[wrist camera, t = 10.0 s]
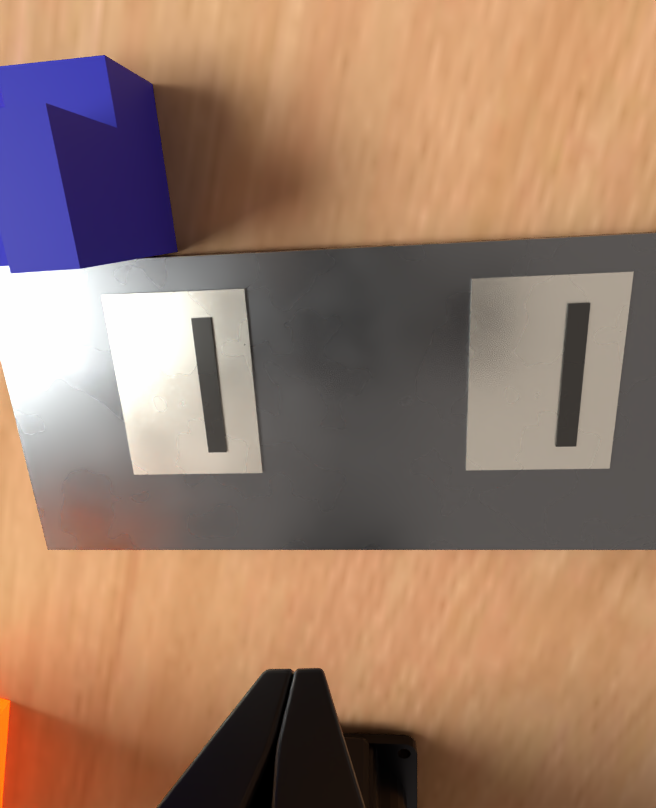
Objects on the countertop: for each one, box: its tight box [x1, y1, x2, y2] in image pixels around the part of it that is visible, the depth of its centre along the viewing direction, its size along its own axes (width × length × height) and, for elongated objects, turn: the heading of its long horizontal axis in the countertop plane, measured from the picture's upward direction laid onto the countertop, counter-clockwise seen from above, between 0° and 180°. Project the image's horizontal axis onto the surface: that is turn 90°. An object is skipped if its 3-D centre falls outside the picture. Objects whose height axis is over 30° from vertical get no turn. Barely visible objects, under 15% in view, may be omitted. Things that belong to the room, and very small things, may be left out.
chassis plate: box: [0, 232, 656, 550], centre depth 17 cm, size 10×22×1 cm, turn 93°
